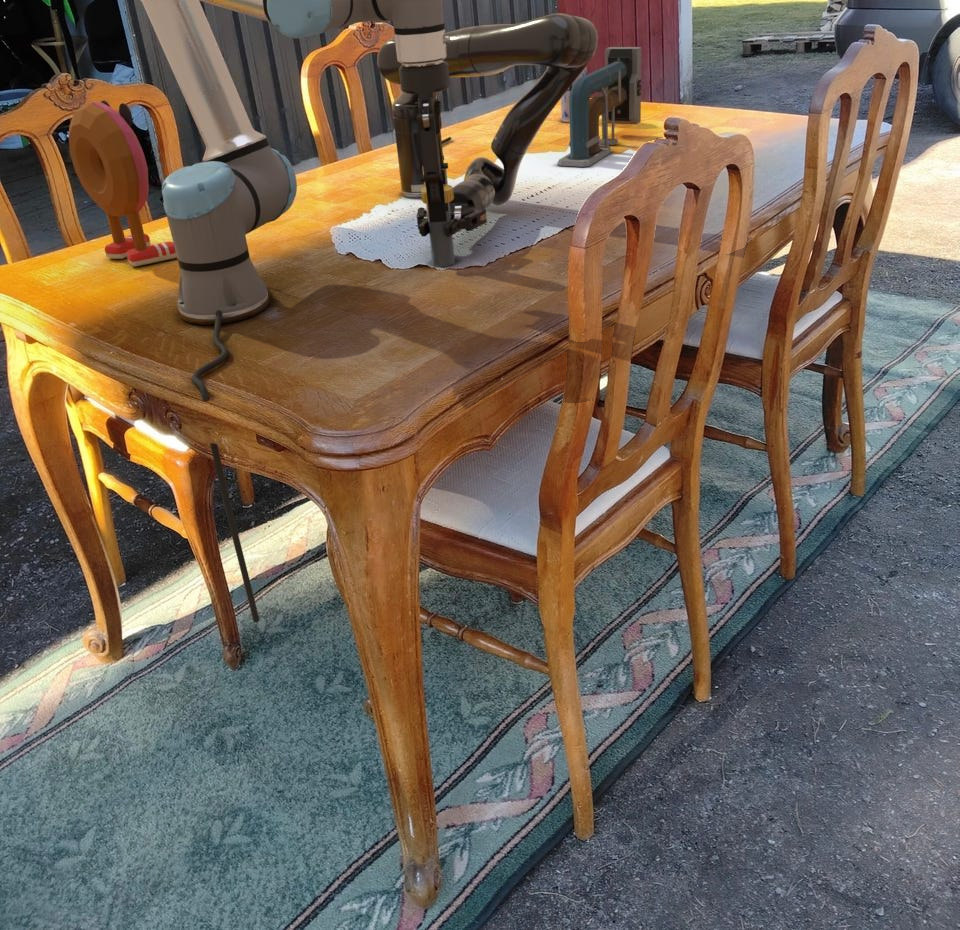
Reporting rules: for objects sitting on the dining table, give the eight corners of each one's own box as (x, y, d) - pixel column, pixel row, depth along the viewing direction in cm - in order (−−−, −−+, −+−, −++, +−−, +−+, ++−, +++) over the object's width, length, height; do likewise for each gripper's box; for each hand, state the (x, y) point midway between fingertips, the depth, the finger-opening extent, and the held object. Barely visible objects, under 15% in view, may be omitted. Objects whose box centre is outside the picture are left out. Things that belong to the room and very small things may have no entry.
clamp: (588, 167, 230) (586, 71, 219) (554, 165, 234) (551, 71, 223) (640, 133, 256) (641, 47, 245) (609, 132, 260) (609, 47, 249)
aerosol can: (559, 122, 275) (557, 47, 265) (562, 117, 282) (559, 42, 272) (587, 121, 274) (585, 45, 263) (589, 115, 280) (587, 41, 270)
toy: (191, 258, 192) (154, 99, 176) (145, 273, 186) (103, 110, 170) (136, 241, 205) (97, 91, 189) (92, 254, 199) (48, 101, 183)
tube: (458, 260, 179) (449, 153, 169) (447, 267, 176) (436, 159, 166) (439, 258, 181) (429, 152, 171) (428, 265, 178) (416, 157, 168)
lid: (449, 194, 158) (448, 182, 157) (457, 201, 153) (456, 189, 152) (419, 198, 157) (417, 187, 156) (425, 206, 152) (424, 194, 151)
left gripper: (445, 69, 137) (460, 231, 148) (450, 51, 152) (463, 199, 164) (392, 74, 137) (412, 234, 149) (403, 56, 152) (419, 202, 164)
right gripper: (428, 184, 187) (395, 210, 173) (498, 184, 183) (471, 211, 169) (432, 222, 191) (400, 250, 177) (501, 223, 186) (474, 252, 173)
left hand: (439, 215), depth 156 cm, fingers closed on lid, 5 cm apart
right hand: (435, 231), depth 173 cm, fingers closed on tube, 4 cm apart
